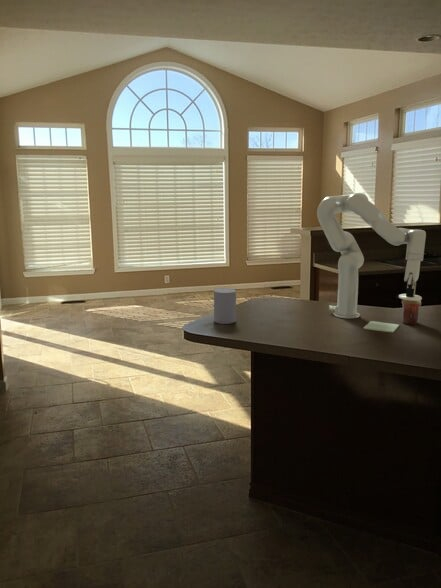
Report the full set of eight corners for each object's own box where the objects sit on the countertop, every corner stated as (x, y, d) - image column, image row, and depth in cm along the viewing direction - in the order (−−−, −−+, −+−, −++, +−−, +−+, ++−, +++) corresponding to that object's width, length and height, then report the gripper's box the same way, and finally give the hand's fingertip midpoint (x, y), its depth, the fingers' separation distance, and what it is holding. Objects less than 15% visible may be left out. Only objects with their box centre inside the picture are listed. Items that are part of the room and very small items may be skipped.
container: (216, 318, 254) (216, 288, 251) (237, 319, 252) (237, 289, 249) (211, 323, 244) (211, 292, 241) (233, 325, 242) (233, 293, 239)
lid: (396, 298, 241) (398, 286, 240) (400, 294, 250) (402, 282, 248) (419, 301, 236) (421, 288, 235) (423, 297, 245) (424, 285, 244)
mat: (363, 328, 236) (363, 327, 236) (370, 322, 248) (370, 321, 247) (393, 332, 230) (393, 331, 230) (399, 325, 241) (399, 324, 241)
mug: (399, 320, 252) (400, 299, 249) (418, 321, 250) (419, 300, 248) (402, 326, 240) (404, 304, 238) (422, 327, 238) (424, 305, 236)
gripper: (409, 254, 248) (405, 291, 252) (402, 258, 233) (398, 298, 237) (426, 255, 244) (421, 293, 248) (420, 259, 230) (415, 300, 234)
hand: (410, 295), depth 243 cm, fingers closed on lid, 3 cm apart
